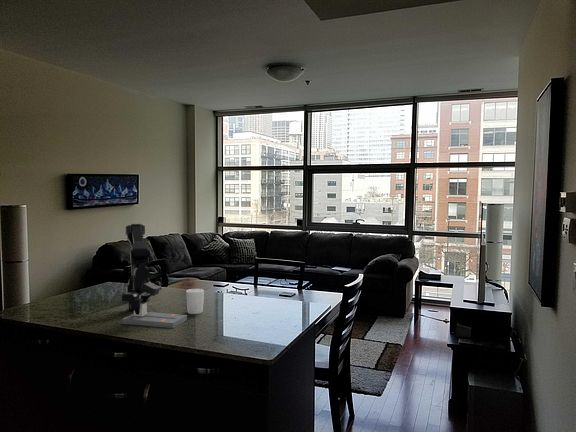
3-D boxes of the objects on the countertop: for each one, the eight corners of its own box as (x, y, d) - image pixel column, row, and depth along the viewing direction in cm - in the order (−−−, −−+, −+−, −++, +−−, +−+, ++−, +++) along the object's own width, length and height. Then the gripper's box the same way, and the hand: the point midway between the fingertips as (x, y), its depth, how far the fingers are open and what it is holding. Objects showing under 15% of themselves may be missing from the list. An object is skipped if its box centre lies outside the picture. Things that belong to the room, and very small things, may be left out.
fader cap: (133, 315, 182) (133, 303, 182) (138, 313, 186) (138, 301, 185) (142, 316, 181) (142, 303, 181) (147, 314, 185) (146, 301, 184)
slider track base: (122, 323, 179) (122, 318, 179) (138, 315, 190) (138, 310, 190) (173, 328, 173) (173, 322, 173) (187, 319, 185) (187, 314, 185)
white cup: (199, 315, 192) (199, 292, 192) (183, 314, 194) (183, 291, 194) (206, 310, 200) (206, 289, 200) (190, 309, 202) (190, 288, 201)
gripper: (144, 282, 172) (145, 320, 172) (168, 273, 190) (168, 309, 191) (120, 280, 174) (120, 318, 175) (145, 272, 192) (146, 307, 193)
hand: (140, 313), depth 183 cm, fingers closed on fader cap, 3 cm apart
